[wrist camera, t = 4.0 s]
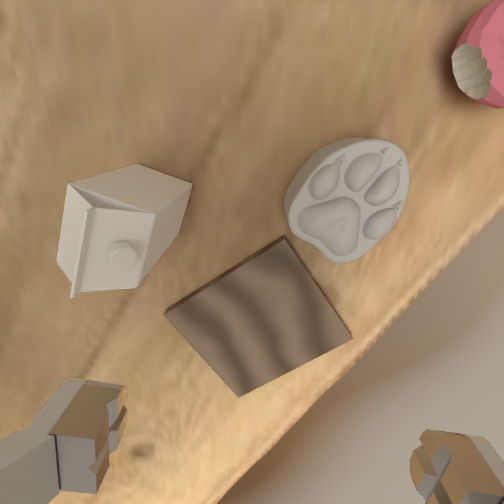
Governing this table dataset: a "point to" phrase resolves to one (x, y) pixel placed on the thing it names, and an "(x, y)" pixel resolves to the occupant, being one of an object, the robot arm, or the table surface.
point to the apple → (482, 56)
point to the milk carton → (119, 226)
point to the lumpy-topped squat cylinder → (348, 196)
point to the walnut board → (259, 319)
